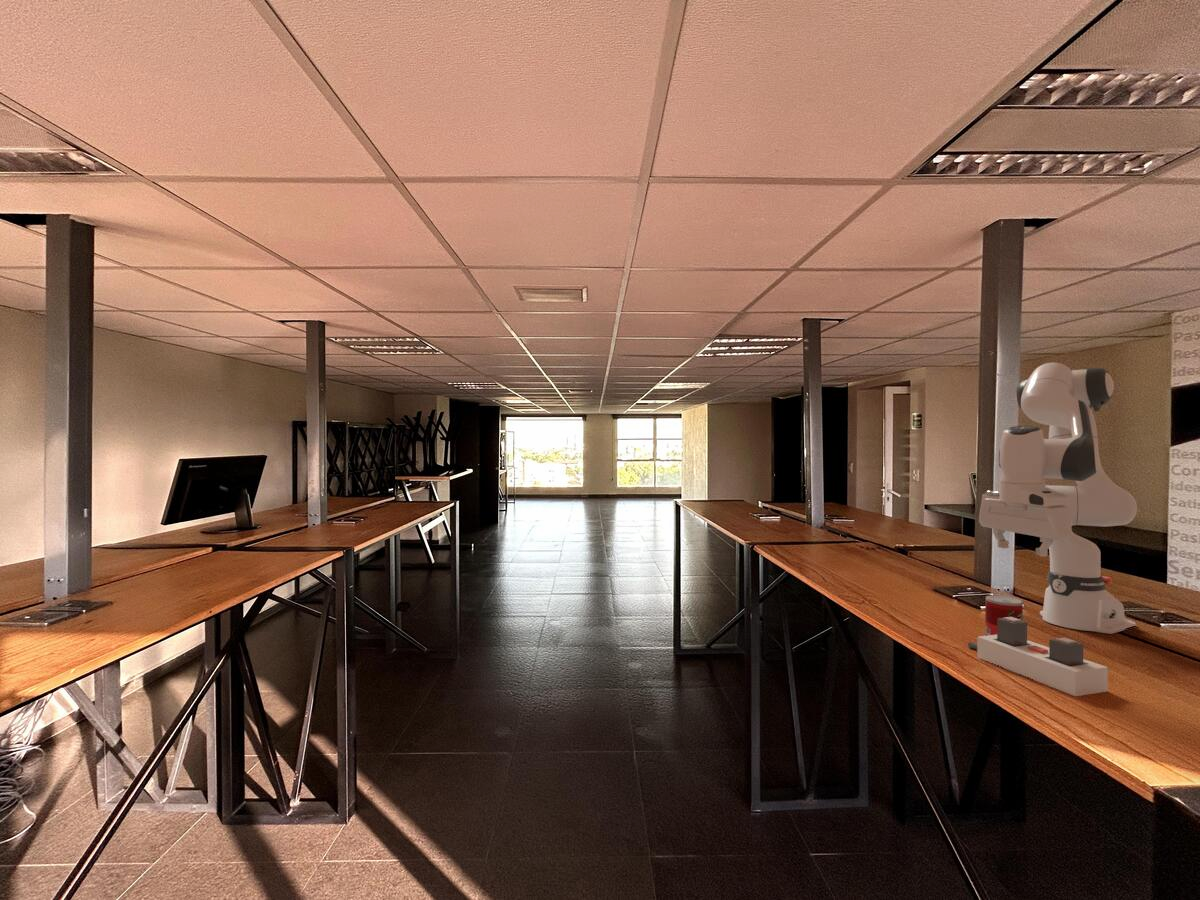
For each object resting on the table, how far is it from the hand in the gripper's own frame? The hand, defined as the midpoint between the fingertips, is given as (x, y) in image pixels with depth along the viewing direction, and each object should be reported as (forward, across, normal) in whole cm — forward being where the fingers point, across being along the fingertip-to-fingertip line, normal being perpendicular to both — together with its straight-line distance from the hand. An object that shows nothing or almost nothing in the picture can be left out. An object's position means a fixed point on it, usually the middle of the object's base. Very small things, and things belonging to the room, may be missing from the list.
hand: (1021, 551), depth 138 cm
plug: (+23, +3, -7) cm, 24 cm away
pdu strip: (+25, +6, -7) cm, 27 cm away
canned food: (+26, -8, +5) cm, 28 cm away
